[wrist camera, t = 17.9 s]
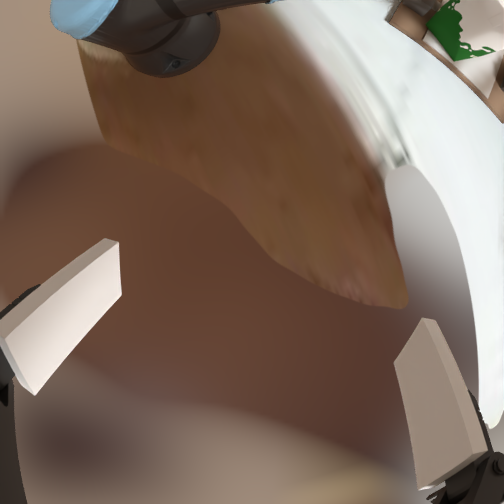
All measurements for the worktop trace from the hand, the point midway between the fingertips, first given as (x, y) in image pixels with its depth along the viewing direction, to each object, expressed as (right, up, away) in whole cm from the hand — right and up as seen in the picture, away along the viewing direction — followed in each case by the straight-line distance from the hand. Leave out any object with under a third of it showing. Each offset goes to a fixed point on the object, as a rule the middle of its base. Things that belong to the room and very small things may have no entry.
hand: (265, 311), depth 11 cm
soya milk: (+30, +35, +14) cm, 48 cm away
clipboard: (+34, +36, +14) cm, 51 cm away
